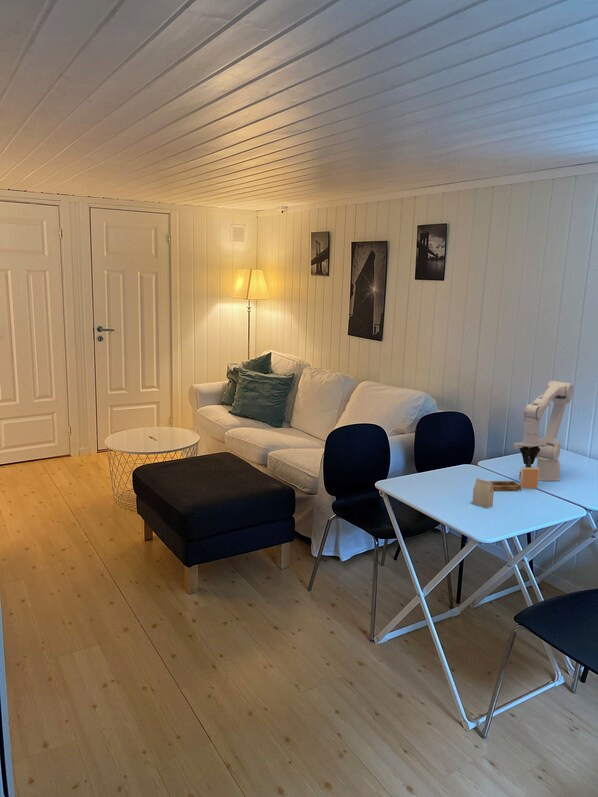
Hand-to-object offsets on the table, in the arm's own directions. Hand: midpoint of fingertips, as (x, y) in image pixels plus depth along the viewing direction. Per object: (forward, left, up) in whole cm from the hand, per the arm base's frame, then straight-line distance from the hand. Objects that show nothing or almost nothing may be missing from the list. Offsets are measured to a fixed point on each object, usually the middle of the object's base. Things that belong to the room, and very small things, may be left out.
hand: (528, 463), depth 263 cm
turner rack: (+11, +2, -10) cm, 15 cm away
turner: (0, 0, -7) cm, 7 cm away
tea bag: (+27, +21, -10) cm, 36 cm away
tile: (0, +2, -10) cm, 10 cm away
